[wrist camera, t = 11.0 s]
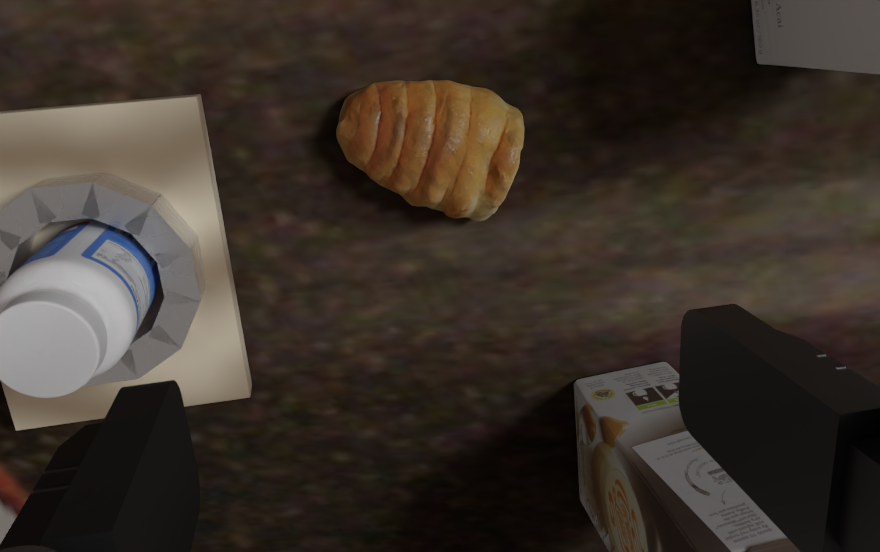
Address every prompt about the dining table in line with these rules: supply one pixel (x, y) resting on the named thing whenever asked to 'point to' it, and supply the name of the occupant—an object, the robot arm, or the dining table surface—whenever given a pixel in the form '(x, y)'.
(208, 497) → the dining table surface
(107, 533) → the robot arm
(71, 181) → the ring collar
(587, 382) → the coffee box
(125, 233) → the pill bottle
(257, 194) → the dining table surface
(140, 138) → the ring plate
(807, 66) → the supplement box
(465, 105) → the pastry
